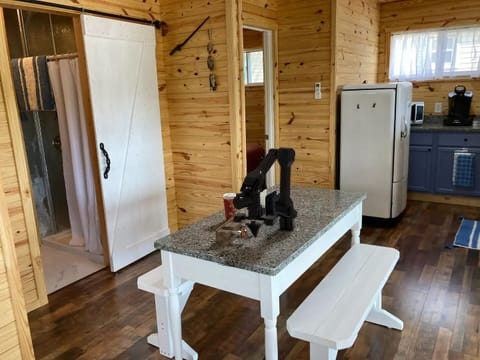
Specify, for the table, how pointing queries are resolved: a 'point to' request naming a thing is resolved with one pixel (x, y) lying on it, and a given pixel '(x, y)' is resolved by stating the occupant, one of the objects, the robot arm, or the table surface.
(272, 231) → the table surface
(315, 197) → the table surface
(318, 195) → the table surface
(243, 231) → the brick knob
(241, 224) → the charcoal knob
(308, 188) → the table surface
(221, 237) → the mount
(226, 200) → the paper cup
